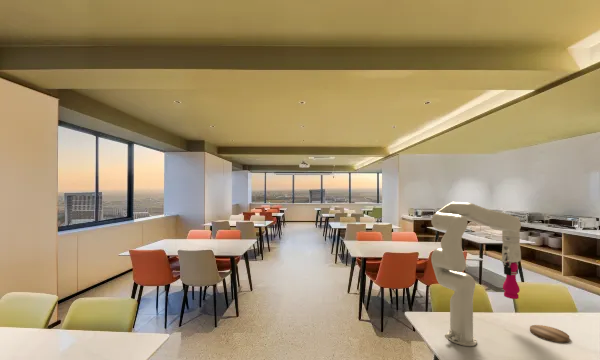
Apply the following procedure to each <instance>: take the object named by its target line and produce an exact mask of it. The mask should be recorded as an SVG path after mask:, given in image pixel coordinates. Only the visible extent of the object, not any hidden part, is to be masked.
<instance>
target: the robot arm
mask: <svg viewBox="0 0 600 360" xmlns="http://www.w3.org/2000/svg"><path fill="white" fill-rule="evenodd" d="M468 221H469V222H471V223H475V224H477V225H481V226H485V227H488V228H490V229H492V230H493V231H494V230H495V231H501V232H502V233H501V237H502V238H501V239H502V240H501V241H502V248H501V249H502V250H501V262H502V265H503V275H511V268H510V266H511V262H512V263H516V264H517V265H518V266H519V263H520V262H521V261H522V251H521V244H520V239H521V238H520V233H521V232H520V230H521V227H522V223H521V220H520V218H519V217H517V216H515V215H511V214H509V213H508V214H507V213H505V212H500V211H496V210H492V209H488V208H485V207H482V206H480V205H477V204H475V203H472V202H463V201H452V202H450V203H447V204H446V205H445V206H443V207H442V208H440V209H439V210H438V211H436V212H435V213H434V214H433V215H432V217H431V221H430V222H431V226H432V227H433V228H434V229H436V230H439V231H445V233H444V234H443V236H442V238H441V240H440V248H439V247H438V248H435V249H434V250H433V251H432V253H431V257H430V260H431V265H432V269H433V272H434V275H435V279H436V281H437V283H438V284H439V285H440V286H442V287H443V288H446V289H449V290H452V291H454V292H453V294H452V296H451V297H450V300H449V310H450V311H449V316H450V317H449V321H450V323H449V325H450V326H449V331H448V332H446V334H445V335H444V338H445V339H447V340H449V341H450V342H451V343H454V344H456V345H459V346H464V347H474V346H476V345H477V344H478V340H477V338H476V337H475V336H474V294H475V290H476V280H475V278H474V277H473V276H471V275H470V274H469V273H466V272H464V271H465V270H466V268H467V262H466V259H465V254H464V250H463V248H462V238H463V235H464V233H465V232H466V230H467V228H468ZM508 263H509V264H508ZM516 272H517V275H518V274H519V269H518V270H517V271H516Z"/></svg>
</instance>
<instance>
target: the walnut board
mask: <svg viewBox="0 0 600 360" xmlns="http://www.w3.org/2000/svg"><path fill="white" fill-rule="evenodd" d="M529 332H530V333H531V334H533V336H535V337H538V338H539V339H543V340H546V341H549V342H553V343H554V342H555V343H559V344H560V343H563V344H564V343H569V342H570V335H569V334H568V333H566V332H564V331H563V330H560V329H558V328H555V327H552V326H548V325H543V324H534V325H533V324H532V325H529Z"/></svg>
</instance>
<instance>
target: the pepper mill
mask: <svg viewBox="0 0 600 360" xmlns="http://www.w3.org/2000/svg"><path fill="white" fill-rule="evenodd" d="M508 264H509V263H508ZM510 268H511V275H506V274H505V275H506V277H505V281H503V284H502V290H503V291H504V292H503V297H505V298H507V299H512V300H517V299H519V297H520V296H519V294H518V293H520V286H519V284H518V282H517V275H518V274H517V272H516V271H517V270H518V271H519V264H518V265H517V264H516V263H512V262H511V266H510Z"/></svg>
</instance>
